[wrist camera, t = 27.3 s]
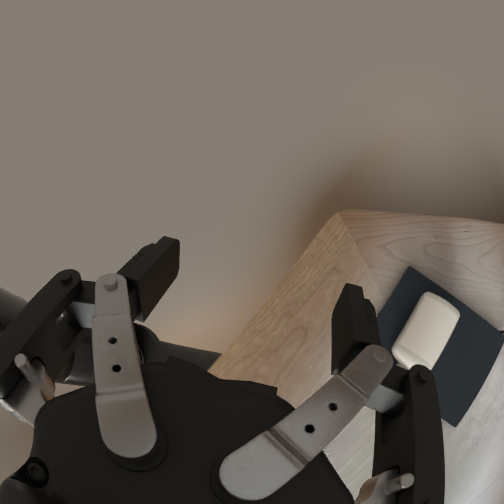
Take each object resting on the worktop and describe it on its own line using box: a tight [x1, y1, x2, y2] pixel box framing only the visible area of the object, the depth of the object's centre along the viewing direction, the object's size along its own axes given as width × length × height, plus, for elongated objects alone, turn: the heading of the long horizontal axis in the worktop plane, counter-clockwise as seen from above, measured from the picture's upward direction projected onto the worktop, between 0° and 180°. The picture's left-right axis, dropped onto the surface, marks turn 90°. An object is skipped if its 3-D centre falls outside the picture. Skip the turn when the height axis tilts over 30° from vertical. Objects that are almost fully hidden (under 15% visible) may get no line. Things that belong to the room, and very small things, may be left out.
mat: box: [377, 266, 504, 427], centre depth 25 cm, size 18×13×1 cm
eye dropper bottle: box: [392, 292, 460, 370], centre depth 24 cm, size 4×6×12 cm
